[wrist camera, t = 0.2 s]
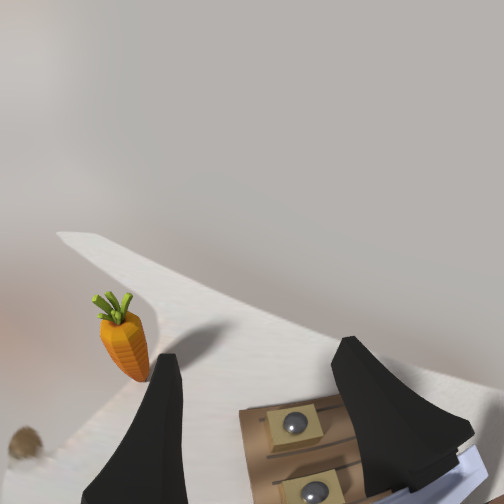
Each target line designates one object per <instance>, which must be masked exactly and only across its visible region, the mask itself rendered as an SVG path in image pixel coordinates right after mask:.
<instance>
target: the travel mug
mask: <svg viewBox="0 0 504 504" xmlns="http://www.w3.org/2000/svg"><path fill="white" fill-rule="evenodd" d="M485 504H504V495H501V496H499V497H497V498H495V499H493V500H491V501H489V502H487V503H485Z"/></svg>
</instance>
